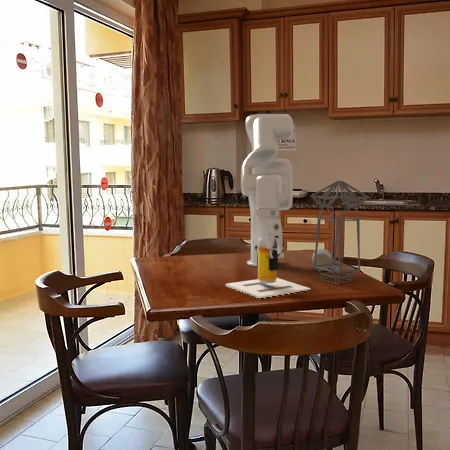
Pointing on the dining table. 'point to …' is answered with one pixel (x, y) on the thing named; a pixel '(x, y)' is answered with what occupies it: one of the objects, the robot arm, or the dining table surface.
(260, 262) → the beer can
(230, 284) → the letter board
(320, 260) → the ceramic mug
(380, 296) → the dining table surface
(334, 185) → the geometric lantern
